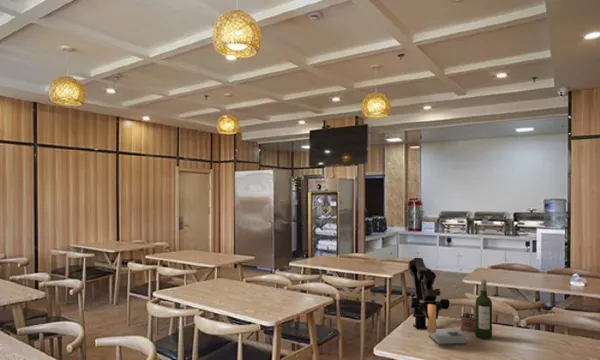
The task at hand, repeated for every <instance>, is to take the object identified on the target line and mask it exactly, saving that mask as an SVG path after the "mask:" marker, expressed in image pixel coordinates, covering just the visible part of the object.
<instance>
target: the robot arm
mask: <svg viewBox="0 0 600 360" xmlns="http://www.w3.org/2000/svg"><path fill="white" fill-rule="evenodd" d="M408 261H409V260H408ZM407 267H408V270H409V274H410V275H411V276H412V277H413V287H414V294H415V295H414V296H415V297H411V298H410V303H409V305H410V308H412V311H411V314H412V317H413V318H414V319H415V320H414V321H415V323H414V324H412V327H414V328H415V329H417V330H428V326H427V325H426V324H427V320H428V319H429V318H428V304H434V305H436V320H438V318H439V313H440V311H442V310H448V309H449V307H450V305H451V301H450V300H449V299H448V298H441V299H440V301H436V300H437V296H439V297H440V296H441V289H440V288H435V289H434V285H435V281H436V278H437V275H436V273H435V272H434V271H432V270H431V269H430V268H428V267H427V266H426V264H425V263H424V260H423V257H414V258H413V259H411V260H410V261H409V262H408V265H407Z"/></svg>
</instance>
